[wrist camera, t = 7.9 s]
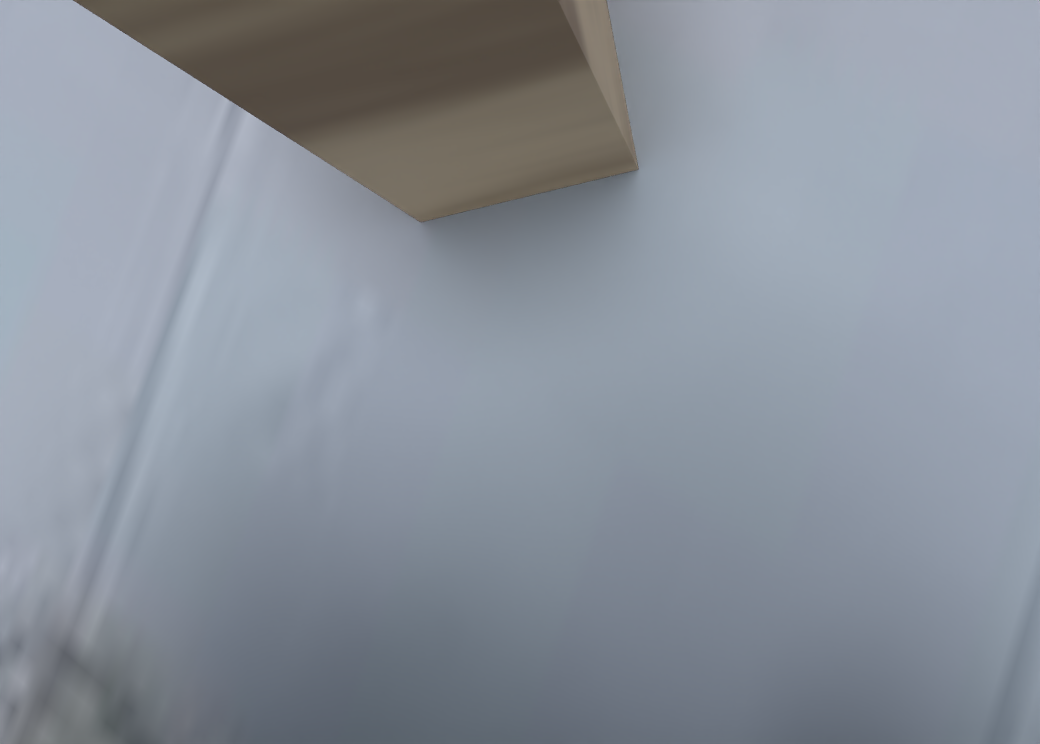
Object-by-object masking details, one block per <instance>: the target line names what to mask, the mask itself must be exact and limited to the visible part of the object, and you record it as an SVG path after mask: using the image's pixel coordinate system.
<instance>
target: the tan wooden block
mask: <svg viewBox="0 0 1040 744" xmlns="http://www.w3.org/2000/svg"><path fill="white" fill-rule="evenodd" d="M73 1H75V2H77V3H78V4H80V5H81V6H83V7H84V8H86V9H88V10H89V11H91V12H92V13H94V14H95V15H97V16H99V17H100V18H102V19H103V20H105V21H106V22H108V23H109V24H111V25H113V26H114V27H116V28H117V29H119V30H120V31H122V32H124V33H125V34H127V35H128V36H130V37H131V38H133V39H135V40H136V41H138V42H139V43H141V44H142V45H144V46H145V47H147V48H149V49H150V50H152V51H153V52H155V53H156V54H158V55H160V56H161V57H163V58H164V59H166V60H167V61H169V62H171V63H172V64H174V65H175V66H177V67H178V68H180V69H181V70H183V71H185V72H186V73H188V74H189V75H191V76H192V77H194V78H196V79H197V80H199V81H200V82H202V83H203V84H205V85H207V86H208V87H210V88H211V89H213V90H214V91H216V92H217V93H219V94H221V95H222V96H224V97H225V98H227V99H228V100H230V101H232V102H233V103H235V104H236V105H238V106H239V107H241V108H243V109H244V110H246V111H247V112H249V113H250V114H252V115H253V116H255V117H257V118H258V119H260V120H261V121H263V122H264V123H266V124H268V125H269V126H271V127H272V128H274V129H275V130H277V131H279V132H280V133H282V134H283V135H285V136H286V137H288V138H289V139H291V140H293V141H294V142H296V143H297V144H299V145H300V146H302V147H304V148H305V149H307V150H308V151H310V152H311V153H313V154H315V155H316V156H318V157H319V158H321V159H322V160H324V161H325V162H327V163H329V164H330V165H332V166H333V167H335V168H336V169H338V170H340V171H341V172H343V173H344V174H346V175H347V176H349V177H351V178H352V179H354V180H355V181H357V182H358V183H360V184H361V185H363V186H365V187H366V188H368V189H369V190H371V191H372V192H374V193H376V194H377V195H379V196H380V197H382V198H383V199H385V200H387V201H388V202H390V203H391V204H393V205H394V206H396V207H397V208H399V209H401V210H402V211H404V212H405V213H407V214H408V215H410V216H412V217H413V218H415V219H416V220H418V221H419V222H424V221H428V220H432V219H436V218H440V217H444V216H448V215H453V214H457V213H461V212H465V211H469V210H473V209H477V208H481V207H486V206H490V205H494V204H498V203H502V202H506V201H510V200H515V199H519V198H523V197H527V196H531V195H535V194H539V193H544V192H548V191H552V190H556V189H560V188H564V187H568V186H572V185H577V184H581V183H585V182H589V181H593V180H597V179H601V178H606V177H610V176H614V175H618V174H622V173H626V172H630V171H635V170H639V169H638V164H637V158H636V153H635V148H634V143H633V137H632V132H631V127H630V122H629V116H628V111H627V106H626V101H625V95H624V90H623V85H622V80H621V74H620V69H619V64H618V59H617V53H616V48H615V43H614V38H613V32H612V27H611V22H610V17H609V11H608V6H607V1H606V0H73Z"/></svg>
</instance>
